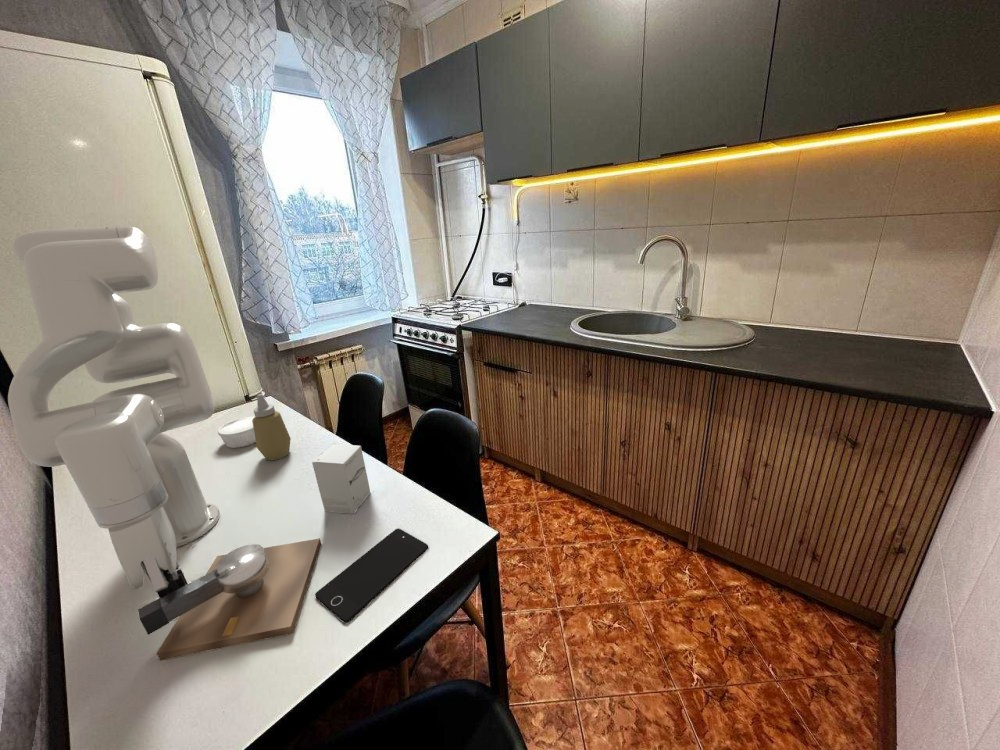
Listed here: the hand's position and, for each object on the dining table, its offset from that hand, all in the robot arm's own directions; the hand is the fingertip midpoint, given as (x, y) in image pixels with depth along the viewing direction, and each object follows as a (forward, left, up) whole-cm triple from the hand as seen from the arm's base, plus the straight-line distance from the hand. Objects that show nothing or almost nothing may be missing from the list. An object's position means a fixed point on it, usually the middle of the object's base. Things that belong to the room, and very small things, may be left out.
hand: (177, 596), depth 61 cm
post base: (+9, +2, -5) cm, 10 cm away
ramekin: (-15, +61, -5) cm, 63 cm away
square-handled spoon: (+5, 0, 0) cm, 5 cm away
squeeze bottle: (-2, +49, -5) cm, 50 cm away
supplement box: (+21, +23, -5) cm, 32 cm away
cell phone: (+29, +2, -5) cm, 29 cm away
